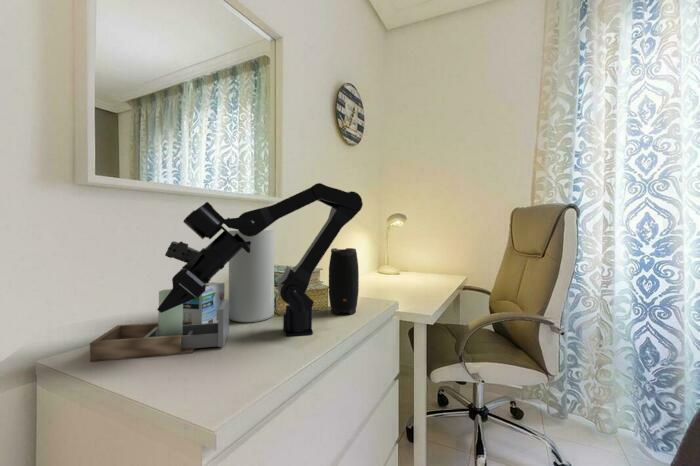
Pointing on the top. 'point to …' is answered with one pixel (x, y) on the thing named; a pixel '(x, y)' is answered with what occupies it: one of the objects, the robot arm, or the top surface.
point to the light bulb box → (205, 305)
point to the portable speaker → (343, 280)
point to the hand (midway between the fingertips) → (163, 305)
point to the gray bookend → (204, 331)
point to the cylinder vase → (252, 279)
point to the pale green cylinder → (170, 318)
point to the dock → (135, 343)
